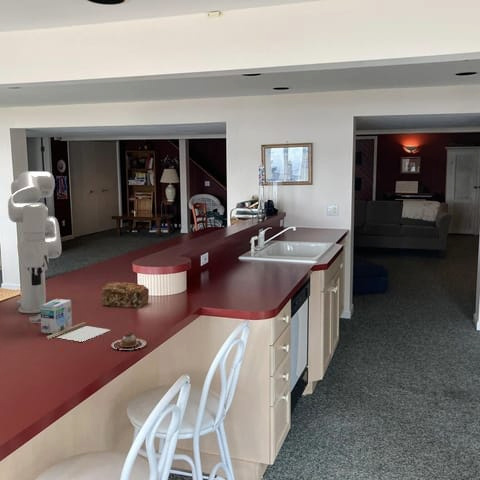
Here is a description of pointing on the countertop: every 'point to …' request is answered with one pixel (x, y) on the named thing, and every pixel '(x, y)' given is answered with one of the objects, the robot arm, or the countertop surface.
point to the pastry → (129, 342)
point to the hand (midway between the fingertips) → (36, 284)
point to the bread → (125, 294)
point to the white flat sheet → (84, 333)
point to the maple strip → (66, 330)
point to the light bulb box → (56, 316)
